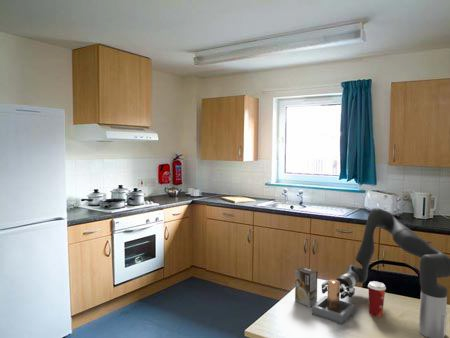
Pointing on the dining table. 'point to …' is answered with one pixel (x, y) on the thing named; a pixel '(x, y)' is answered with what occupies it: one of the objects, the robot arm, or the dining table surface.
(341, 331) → the dining table surface
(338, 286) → the copper tin
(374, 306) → the paper cup
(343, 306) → the grey tray
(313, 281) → the coffee box
